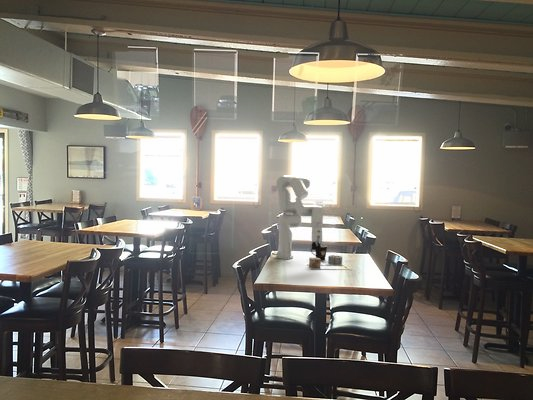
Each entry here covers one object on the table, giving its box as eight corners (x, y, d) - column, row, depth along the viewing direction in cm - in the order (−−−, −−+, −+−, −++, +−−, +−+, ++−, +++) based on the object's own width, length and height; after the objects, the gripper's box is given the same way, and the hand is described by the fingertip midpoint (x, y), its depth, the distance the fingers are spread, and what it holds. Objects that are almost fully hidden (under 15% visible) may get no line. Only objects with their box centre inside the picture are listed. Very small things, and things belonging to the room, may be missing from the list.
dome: (332, 263, 304) (333, 255, 304) (330, 262, 309) (330, 254, 309) (339, 263, 305) (340, 255, 305) (337, 262, 310) (337, 254, 310)
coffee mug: (326, 259, 323) (326, 245, 323) (326, 261, 315) (327, 247, 314) (310, 258, 324) (311, 244, 324) (310, 260, 316) (311, 246, 315)
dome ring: (330, 264, 302) (331, 257, 302) (326, 262, 311) (327, 255, 311) (343, 264, 303) (343, 257, 303) (339, 262, 312) (339, 255, 312)
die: (311, 268, 286) (312, 258, 286) (309, 266, 293) (309, 257, 292) (320, 268, 287) (320, 259, 287) (317, 266, 294) (318, 257, 293)
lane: (311, 269, 282) (311, 269, 282) (305, 264, 297) (305, 264, 297) (351, 269, 287) (351, 269, 287) (343, 265, 301) (343, 264, 301)
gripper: (326, 225, 281) (325, 252, 281) (318, 223, 298) (317, 248, 298) (314, 225, 280) (314, 252, 280) (307, 223, 297) (307, 248, 297)
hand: (316, 250), depth 289 cm, fingers open, 9 cm apart
